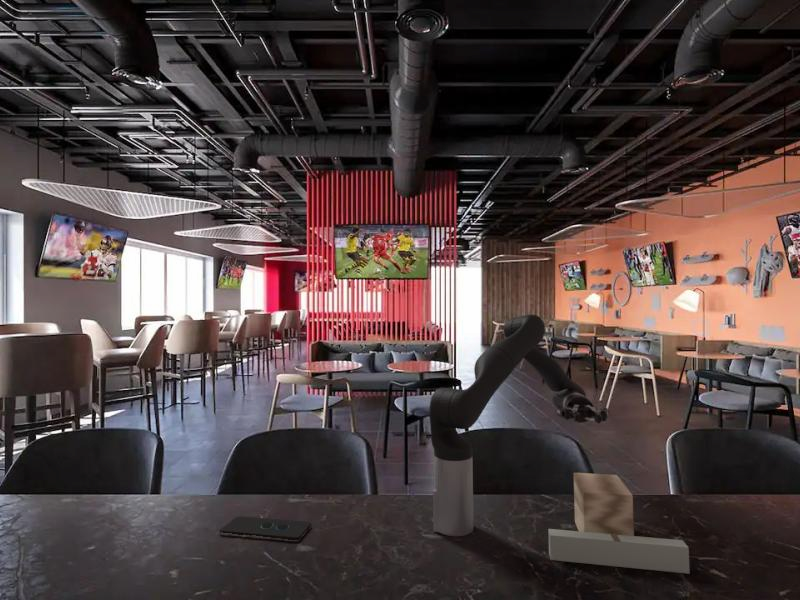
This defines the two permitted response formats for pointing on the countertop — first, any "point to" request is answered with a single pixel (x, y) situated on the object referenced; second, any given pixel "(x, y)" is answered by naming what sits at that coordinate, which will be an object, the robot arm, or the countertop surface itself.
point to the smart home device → (267, 527)
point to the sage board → (619, 550)
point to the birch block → (602, 504)
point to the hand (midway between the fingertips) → (588, 419)
